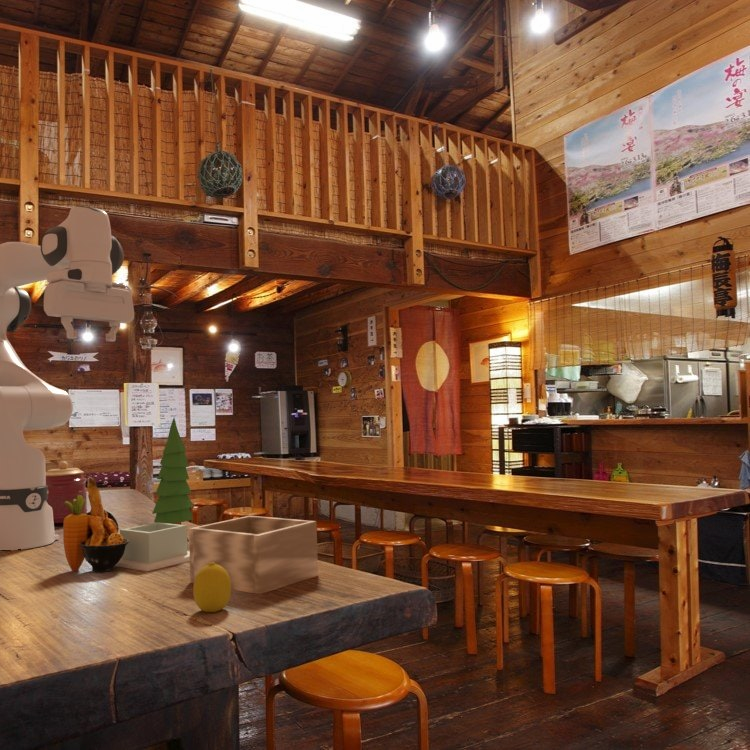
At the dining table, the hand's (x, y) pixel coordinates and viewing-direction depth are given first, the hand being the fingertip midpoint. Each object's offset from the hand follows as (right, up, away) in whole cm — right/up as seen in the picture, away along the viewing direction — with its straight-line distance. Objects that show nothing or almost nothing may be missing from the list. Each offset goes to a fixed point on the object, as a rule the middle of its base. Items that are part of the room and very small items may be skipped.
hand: (91, 339), depth 148 cm
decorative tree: (+14, -48, +12) cm, 52 cm away
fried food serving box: (+41, -45, -28) cm, 67 cm away
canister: (-31, -52, +52) cm, 80 cm away
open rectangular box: (+17, -47, -9) cm, 50 cm away
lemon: (+39, -44, -48) cm, 76 cm away
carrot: (+4, -47, -17) cm, 50 cm away
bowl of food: (+9, -47, -16) cm, 50 cm away
